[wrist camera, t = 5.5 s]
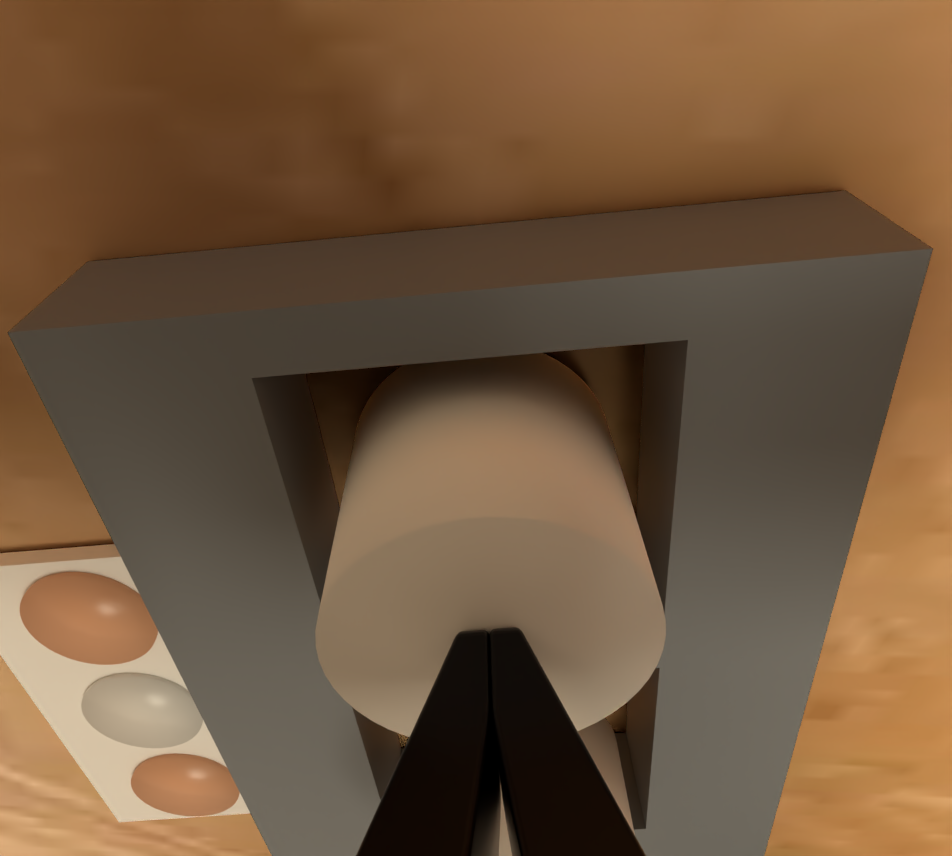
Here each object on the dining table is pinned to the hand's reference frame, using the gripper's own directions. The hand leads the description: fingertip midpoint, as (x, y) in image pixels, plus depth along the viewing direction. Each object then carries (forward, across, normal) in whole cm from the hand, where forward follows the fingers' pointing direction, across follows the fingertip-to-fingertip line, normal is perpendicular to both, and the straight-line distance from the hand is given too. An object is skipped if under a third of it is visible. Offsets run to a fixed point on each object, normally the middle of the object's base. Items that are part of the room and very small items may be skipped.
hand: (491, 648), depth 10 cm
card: (+5, +9, +7) cm, 12 cm away
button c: (+4, 0, 0) cm, 4 cm away
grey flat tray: (+5, 0, +7) cm, 8 cm away
